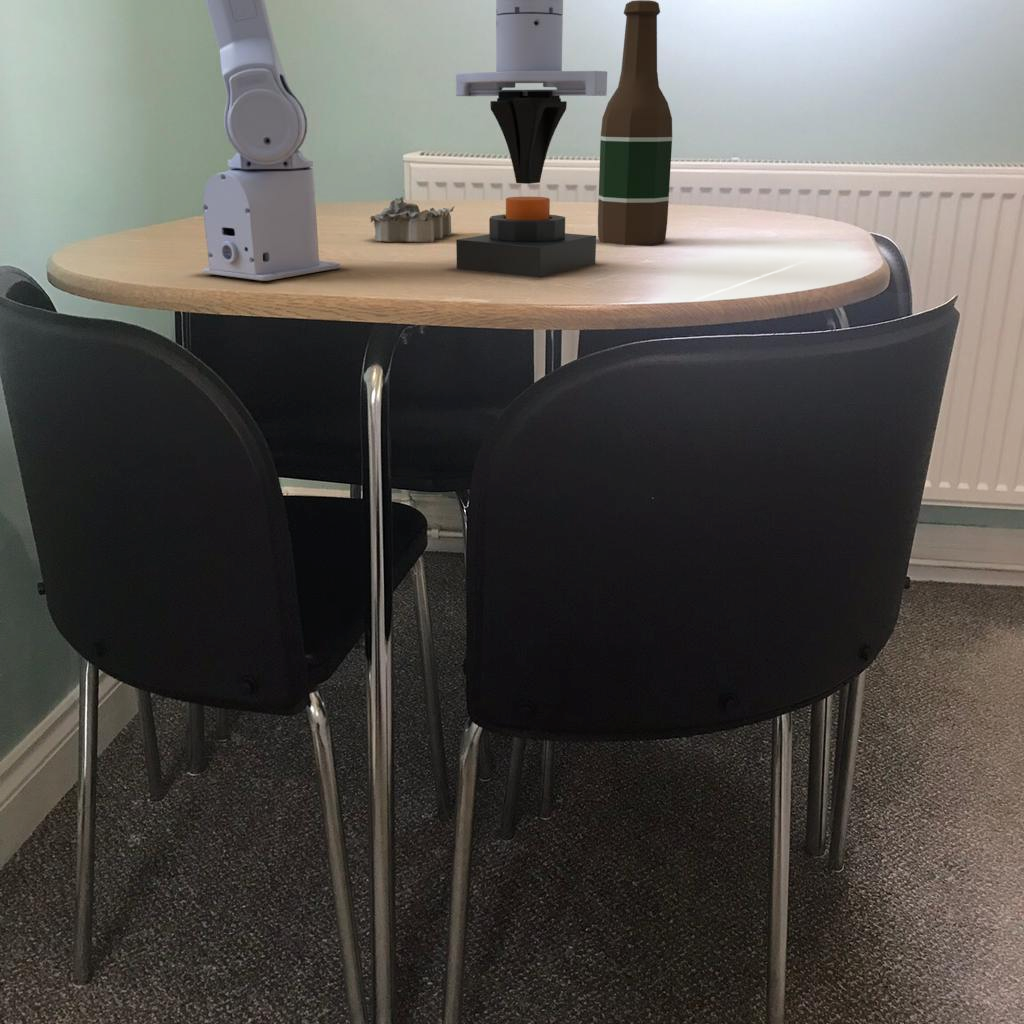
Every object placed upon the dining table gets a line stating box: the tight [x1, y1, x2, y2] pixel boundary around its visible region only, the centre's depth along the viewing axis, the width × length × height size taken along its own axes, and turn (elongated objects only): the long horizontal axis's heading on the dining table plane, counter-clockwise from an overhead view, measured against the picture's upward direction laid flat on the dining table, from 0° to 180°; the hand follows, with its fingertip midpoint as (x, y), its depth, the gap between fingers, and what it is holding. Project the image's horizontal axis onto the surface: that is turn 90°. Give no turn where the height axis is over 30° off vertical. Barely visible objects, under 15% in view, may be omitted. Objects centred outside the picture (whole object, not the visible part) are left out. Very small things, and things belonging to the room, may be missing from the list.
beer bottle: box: [597, 0, 673, 246], centre depth 108 cm, size 8×8×24 cm
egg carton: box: [369, 196, 455, 243], centre depth 115 cm, size 11×8×4 cm
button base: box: [455, 213, 597, 279], centre depth 94 cm, size 10×9×4 cm
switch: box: [505, 196, 551, 220], centre depth 93 cm, size 4×4×2 cm
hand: (528, 183), depth 92 cm, fingers closed
